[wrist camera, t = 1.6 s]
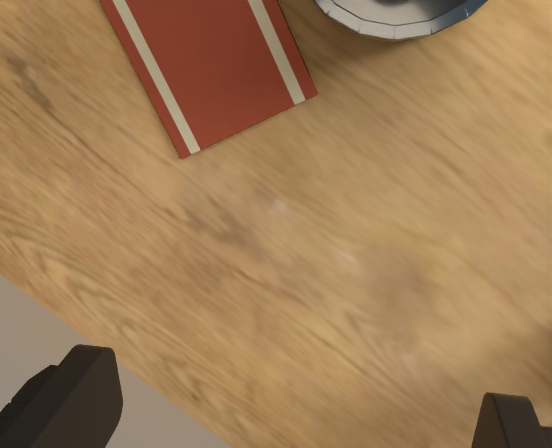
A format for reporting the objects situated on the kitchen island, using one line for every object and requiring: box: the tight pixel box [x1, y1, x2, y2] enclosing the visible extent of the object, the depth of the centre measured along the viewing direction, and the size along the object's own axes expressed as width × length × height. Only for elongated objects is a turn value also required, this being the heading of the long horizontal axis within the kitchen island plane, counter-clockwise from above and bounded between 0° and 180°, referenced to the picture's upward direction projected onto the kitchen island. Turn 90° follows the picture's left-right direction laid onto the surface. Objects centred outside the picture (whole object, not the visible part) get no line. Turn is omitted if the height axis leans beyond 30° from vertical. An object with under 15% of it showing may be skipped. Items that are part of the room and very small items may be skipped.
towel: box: [99, 0, 318, 159], centre depth 35 cm, size 20×12×1 cm, turn 26°
